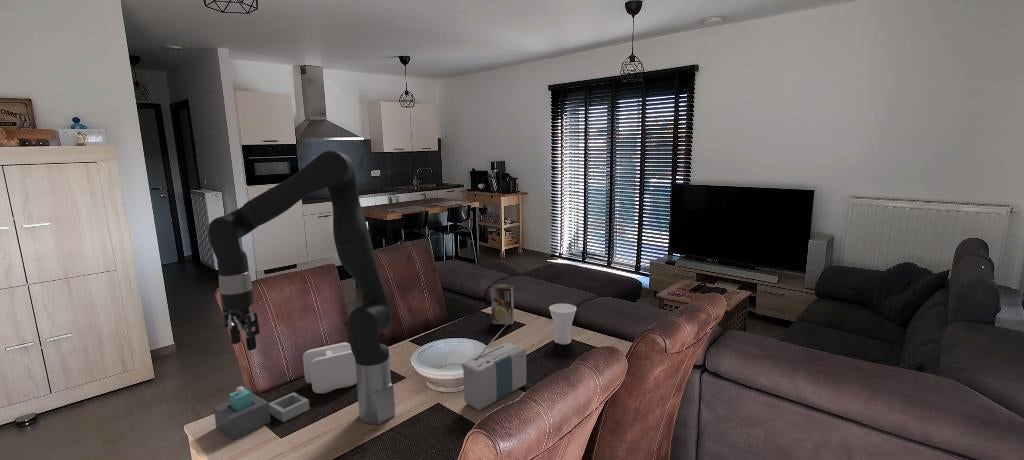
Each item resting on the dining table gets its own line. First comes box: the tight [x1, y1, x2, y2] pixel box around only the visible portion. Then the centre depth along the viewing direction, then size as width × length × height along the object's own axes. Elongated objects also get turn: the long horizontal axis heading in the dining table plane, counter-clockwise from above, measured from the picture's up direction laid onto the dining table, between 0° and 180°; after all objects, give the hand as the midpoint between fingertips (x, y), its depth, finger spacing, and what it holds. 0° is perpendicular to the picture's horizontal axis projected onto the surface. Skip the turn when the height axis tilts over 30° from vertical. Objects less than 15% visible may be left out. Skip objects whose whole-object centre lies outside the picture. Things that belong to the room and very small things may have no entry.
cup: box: [548, 303, 577, 345], centre depth 185 cm, size 10×10×14 cm
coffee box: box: [490, 283, 515, 325], centre depth 207 cm, size 9×6×16 cm
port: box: [213, 392, 272, 440], centre depth 133 cm, size 10×10×6 cm
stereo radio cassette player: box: [461, 324, 527, 411], centre depth 145 cm, size 21×8×20 cm, turn 137°
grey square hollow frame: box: [269, 391, 310, 423], centre depth 140 cm, size 8×8×3 cm
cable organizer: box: [302, 342, 357, 394], centre depth 155 cm, size 15×11×12 cm
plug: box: [228, 385, 253, 412], centre depth 132 cm, size 4×4×10 cm
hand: (244, 346), depth 131 cm, fingers open, 8 cm apart
